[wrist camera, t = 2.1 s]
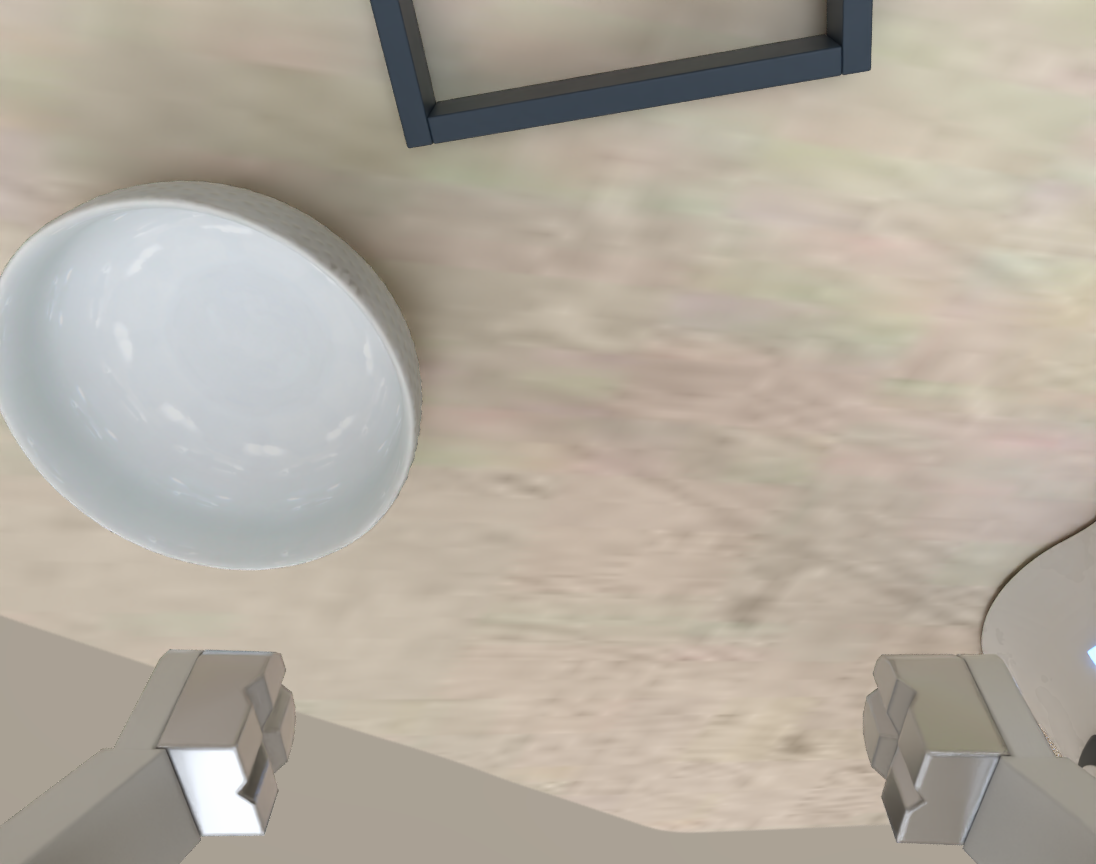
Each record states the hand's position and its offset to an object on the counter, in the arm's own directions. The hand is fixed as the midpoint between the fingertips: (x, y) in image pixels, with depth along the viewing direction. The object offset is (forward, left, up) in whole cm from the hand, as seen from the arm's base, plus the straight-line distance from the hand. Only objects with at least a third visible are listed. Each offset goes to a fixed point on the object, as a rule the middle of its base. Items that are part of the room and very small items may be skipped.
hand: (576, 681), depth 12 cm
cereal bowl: (+16, +6, -28) cm, 33 cm away
